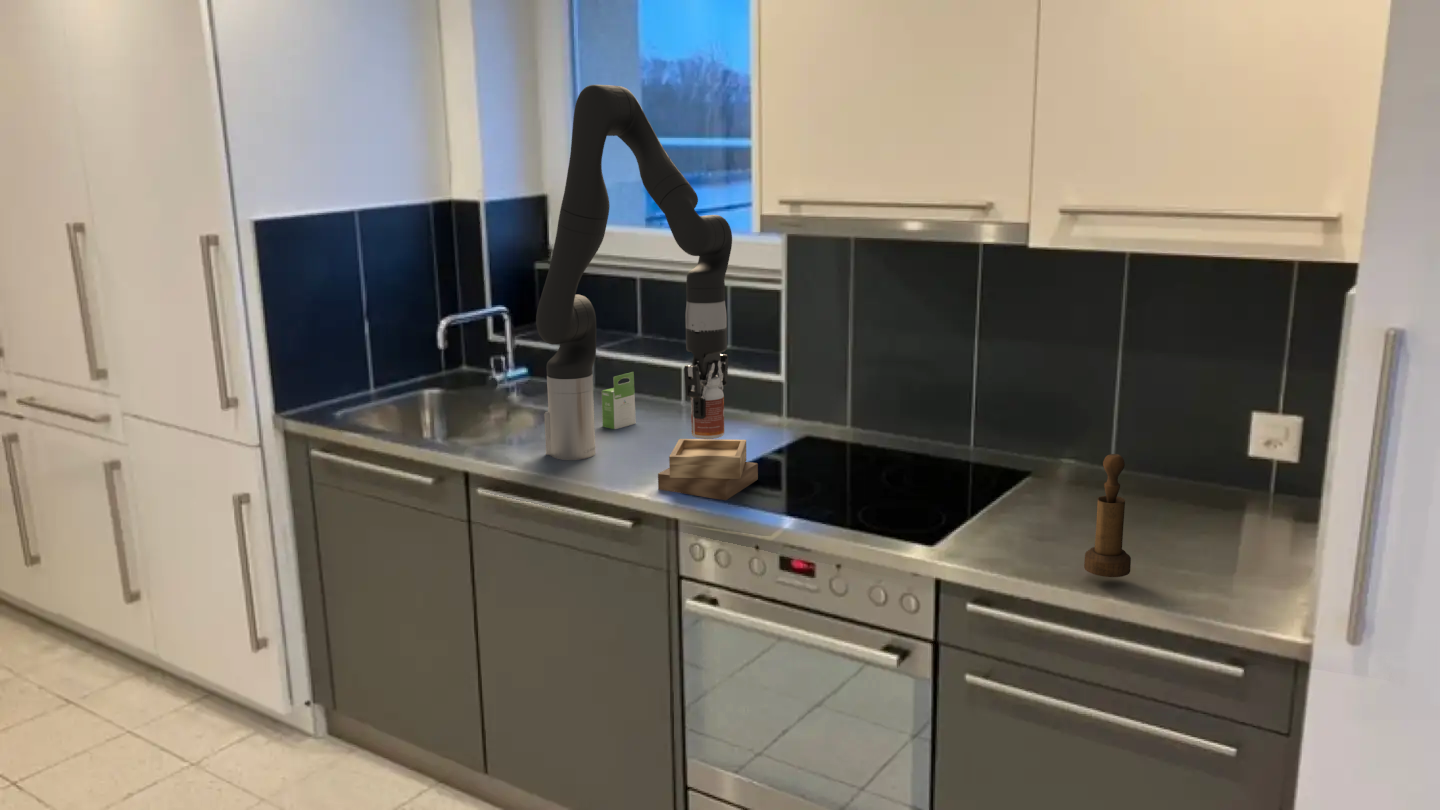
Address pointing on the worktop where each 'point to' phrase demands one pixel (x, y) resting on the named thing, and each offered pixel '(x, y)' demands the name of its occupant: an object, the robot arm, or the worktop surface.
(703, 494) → the tower base
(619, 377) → the ink box
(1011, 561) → the worktop surface
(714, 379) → the pill bottle
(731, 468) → the tower top
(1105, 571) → the mortar and pestle
